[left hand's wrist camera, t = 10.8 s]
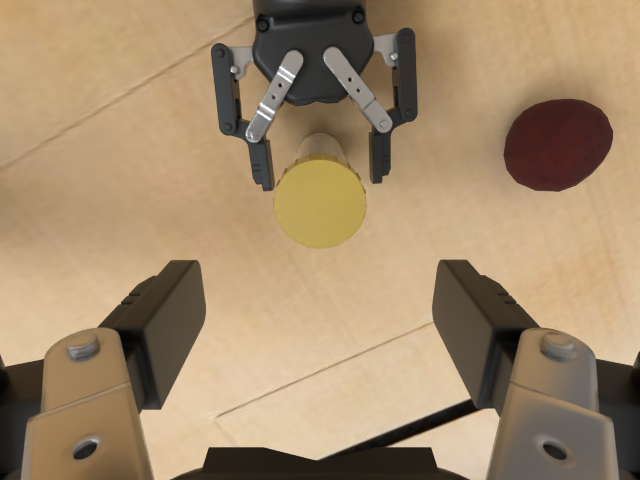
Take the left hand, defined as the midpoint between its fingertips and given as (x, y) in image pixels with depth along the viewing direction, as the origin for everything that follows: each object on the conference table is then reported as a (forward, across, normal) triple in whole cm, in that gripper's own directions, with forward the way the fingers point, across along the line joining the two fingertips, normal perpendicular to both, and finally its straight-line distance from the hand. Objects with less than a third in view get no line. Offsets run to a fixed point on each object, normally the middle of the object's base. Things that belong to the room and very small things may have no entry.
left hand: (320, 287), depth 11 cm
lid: (+9, 0, 0) cm, 9 cm away
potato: (+25, +20, +1) cm, 32 cm away
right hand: (+19, 0, -1) cm, 19 cm away
